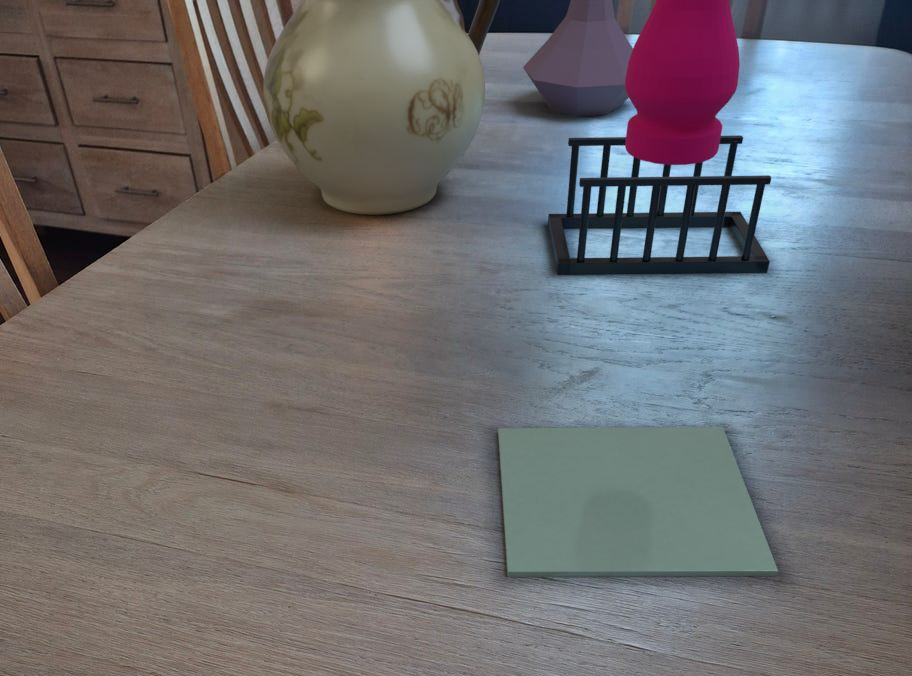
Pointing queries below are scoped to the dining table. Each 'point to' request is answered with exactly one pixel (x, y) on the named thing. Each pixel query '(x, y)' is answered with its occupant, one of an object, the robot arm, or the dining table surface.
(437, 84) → the pitcher
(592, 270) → the rack
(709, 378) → the dining table surface
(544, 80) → the mauve faceted vase
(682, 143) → the pepper mill
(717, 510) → the tile
